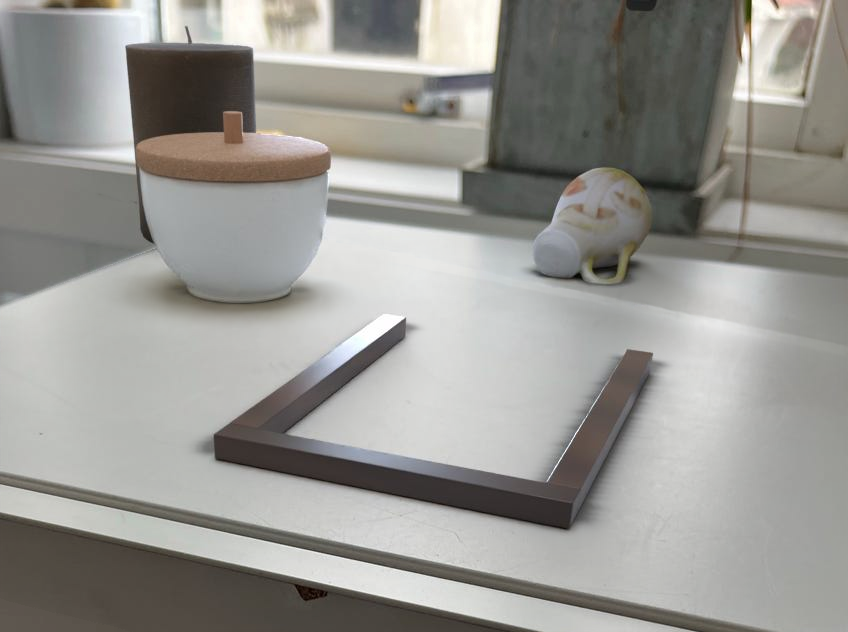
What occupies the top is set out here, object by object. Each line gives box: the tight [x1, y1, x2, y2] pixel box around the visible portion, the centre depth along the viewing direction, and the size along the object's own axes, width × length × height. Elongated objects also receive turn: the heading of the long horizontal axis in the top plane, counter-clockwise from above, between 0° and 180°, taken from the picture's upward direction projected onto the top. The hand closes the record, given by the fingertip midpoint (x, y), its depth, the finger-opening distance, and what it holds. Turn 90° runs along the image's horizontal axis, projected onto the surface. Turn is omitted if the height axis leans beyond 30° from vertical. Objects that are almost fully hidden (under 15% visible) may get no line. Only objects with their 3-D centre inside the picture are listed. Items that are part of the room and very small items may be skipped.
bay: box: [213, 313, 654, 530], centre depth 52 cm, size 22×16×1 cm
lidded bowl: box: [134, 111, 332, 304], centre depth 67 cm, size 13×13×11 cm
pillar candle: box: [124, 25, 257, 245], centre depth 79 cm, size 10×10×15 cm
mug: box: [532, 167, 652, 285], centre depth 76 cm, size 8×10×10 cm
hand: (641, 10), depth 75 cm, fingers closed
